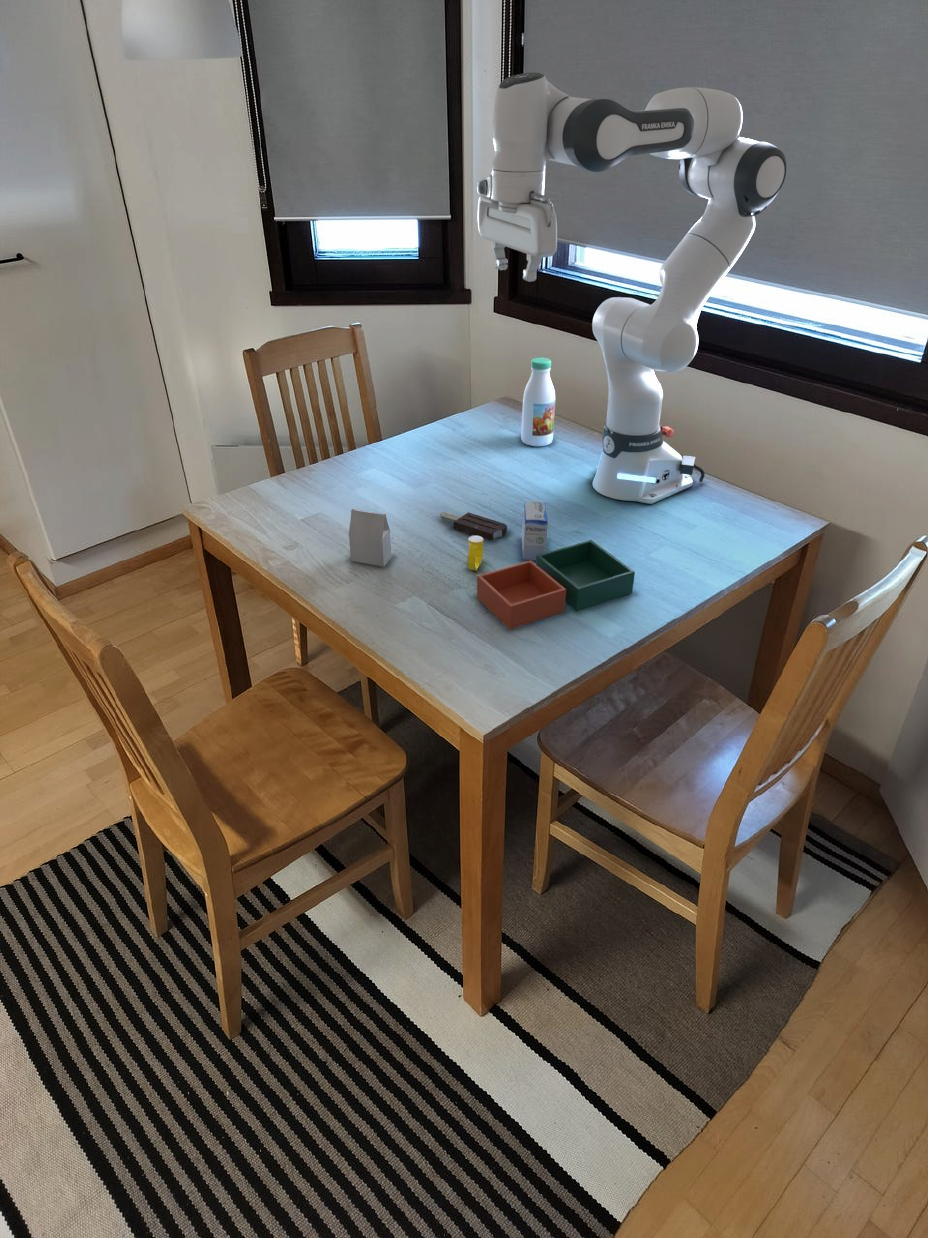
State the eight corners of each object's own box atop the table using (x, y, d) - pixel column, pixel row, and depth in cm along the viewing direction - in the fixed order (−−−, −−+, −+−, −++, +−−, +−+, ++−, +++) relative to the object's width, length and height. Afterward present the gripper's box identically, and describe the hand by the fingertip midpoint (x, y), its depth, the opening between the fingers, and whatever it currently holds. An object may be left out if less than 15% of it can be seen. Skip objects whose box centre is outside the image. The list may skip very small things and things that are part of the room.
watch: (478, 575, 161) (478, 547, 158) (463, 573, 162) (463, 545, 159) (486, 560, 166) (487, 532, 163) (472, 558, 167) (473, 530, 163)
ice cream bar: (433, 522, 179) (495, 542, 172) (433, 515, 178) (495, 535, 171) (448, 512, 182) (509, 532, 175) (448, 505, 181) (509, 524, 175)
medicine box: (521, 540, 173) (523, 500, 168) (544, 540, 173) (546, 501, 168) (522, 560, 166) (524, 519, 161) (546, 560, 166) (548, 520, 161)
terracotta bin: (529, 581, 160) (530, 560, 157) (564, 611, 152) (566, 589, 149) (476, 597, 155) (476, 575, 153) (509, 629, 147) (510, 606, 145)
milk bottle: (519, 445, 211) (522, 364, 200) (522, 433, 218) (526, 353, 206) (551, 448, 210) (556, 366, 199) (553, 435, 217) (559, 355, 205)
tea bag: (383, 566, 164) (381, 519, 158) (351, 560, 166) (347, 513, 160) (391, 557, 167) (389, 510, 161) (358, 551, 169) (355, 505, 163)
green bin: (588, 560, 166) (591, 539, 164) (632, 593, 157) (635, 571, 154) (535, 576, 161) (536, 555, 159) (576, 611, 152) (578, 589, 149)
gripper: (569, 195, 139) (563, 285, 147) (503, 178, 154) (500, 261, 162) (536, 198, 137) (531, 290, 145) (471, 181, 152) (471, 265, 159)
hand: (514, 274), depth 153 cm, fingers open, 8 cm apart
